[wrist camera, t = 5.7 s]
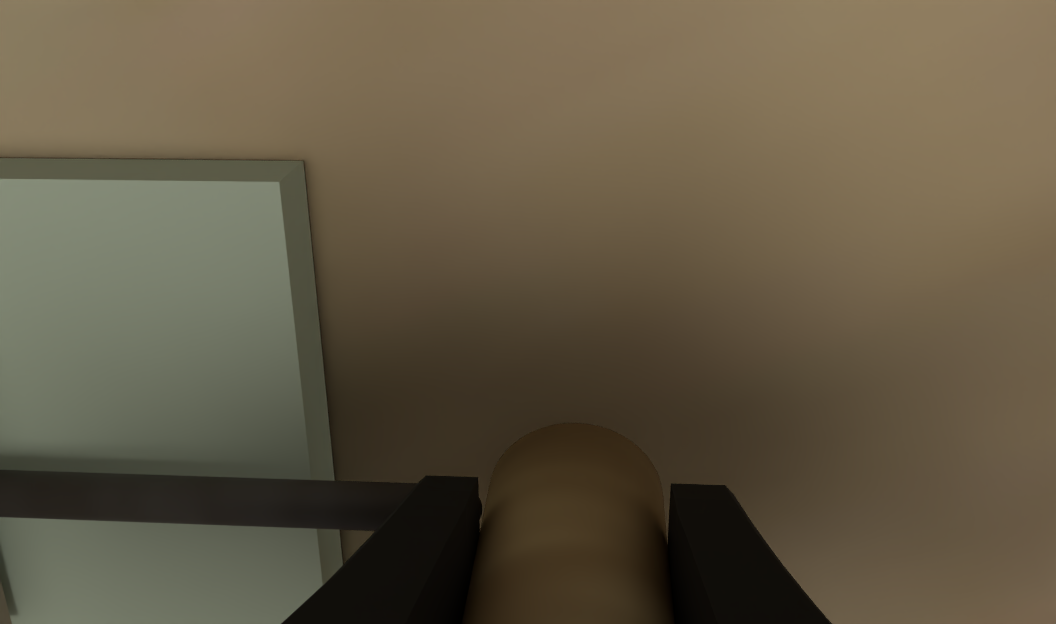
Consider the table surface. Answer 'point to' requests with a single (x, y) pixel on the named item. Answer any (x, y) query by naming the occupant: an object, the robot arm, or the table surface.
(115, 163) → the pad
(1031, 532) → the table surface
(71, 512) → the block rod cylinder assembly
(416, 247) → the table surface
